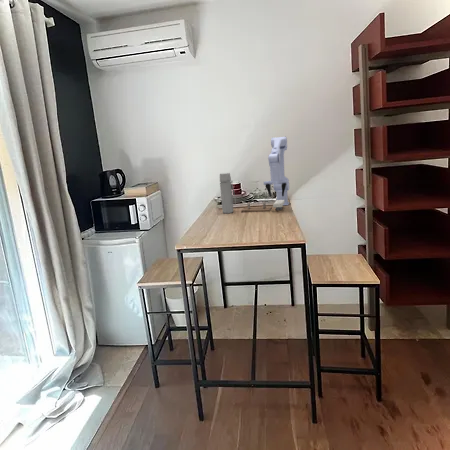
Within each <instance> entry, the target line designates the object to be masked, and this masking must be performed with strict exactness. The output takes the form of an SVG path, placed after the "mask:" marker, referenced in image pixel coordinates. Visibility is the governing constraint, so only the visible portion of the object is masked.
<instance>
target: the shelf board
mask: <svg viewBox="0 0 450 450" xmlns="http://www.w3.org/2000/svg"><path fill="white" fill-rule="evenodd" d="M283 204H284V200H277V199H276V200H275V201H274V202H273V205H272V208H276V207H283V206H284V205H283Z"/></svg>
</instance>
